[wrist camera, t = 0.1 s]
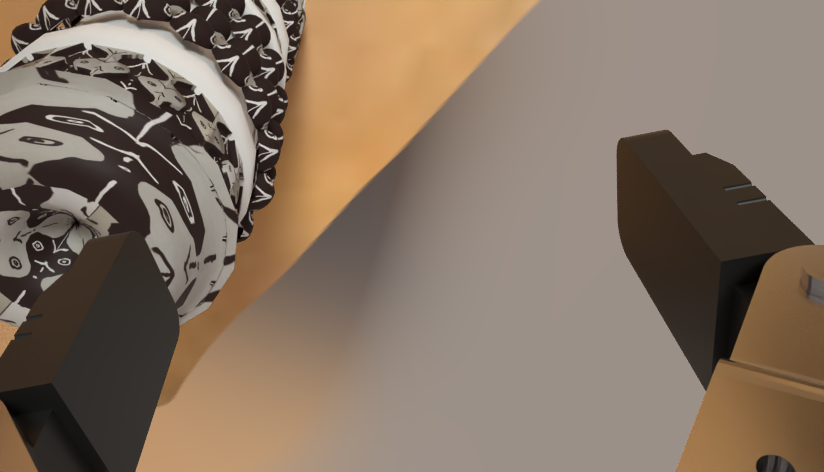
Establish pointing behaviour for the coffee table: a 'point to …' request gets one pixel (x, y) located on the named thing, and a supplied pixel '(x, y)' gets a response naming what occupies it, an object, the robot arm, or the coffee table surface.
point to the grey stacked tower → (140, 136)
